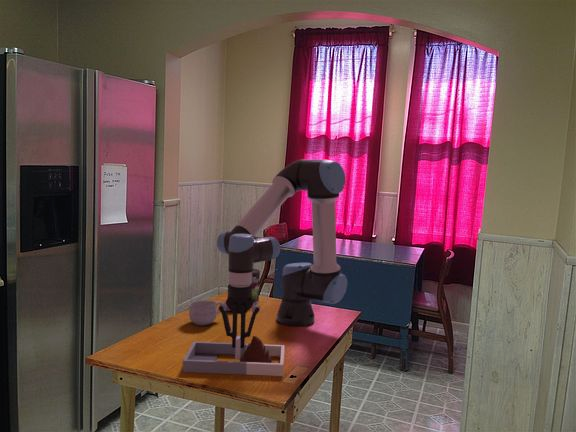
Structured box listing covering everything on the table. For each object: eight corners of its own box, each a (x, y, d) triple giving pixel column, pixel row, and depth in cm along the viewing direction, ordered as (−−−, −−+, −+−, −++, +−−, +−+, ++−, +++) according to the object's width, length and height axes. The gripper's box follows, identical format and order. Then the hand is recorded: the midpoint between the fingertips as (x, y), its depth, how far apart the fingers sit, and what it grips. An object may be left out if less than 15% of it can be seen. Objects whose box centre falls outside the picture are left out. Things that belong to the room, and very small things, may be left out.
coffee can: (263, 302, 228) (264, 271, 226) (242, 305, 223) (243, 274, 221) (252, 297, 237) (253, 267, 235) (232, 299, 231) (232, 269, 230)
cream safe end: (246, 374, 153) (246, 363, 152) (250, 354, 169) (251, 343, 168) (282, 376, 153) (283, 364, 152) (284, 355, 169) (284, 345, 168)
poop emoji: (242, 371, 155) (243, 341, 154) (237, 360, 163) (238, 331, 162) (274, 368, 158) (275, 339, 157) (268, 358, 166) (269, 330, 165)
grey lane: (182, 371, 153) (182, 360, 153) (193, 351, 169) (193, 341, 169) (246, 374, 153) (246, 363, 152) (250, 354, 169) (251, 343, 168)
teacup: (191, 328, 191) (192, 308, 190) (185, 320, 201) (185, 300, 200) (227, 325, 196) (228, 305, 196) (219, 316, 206) (220, 297, 205)
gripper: (262, 282, 162) (259, 353, 164) (220, 280, 162) (219, 352, 164) (260, 288, 154) (257, 363, 157) (217, 286, 154) (215, 361, 157)
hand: (238, 357), depth 161 cm, fingers closed
